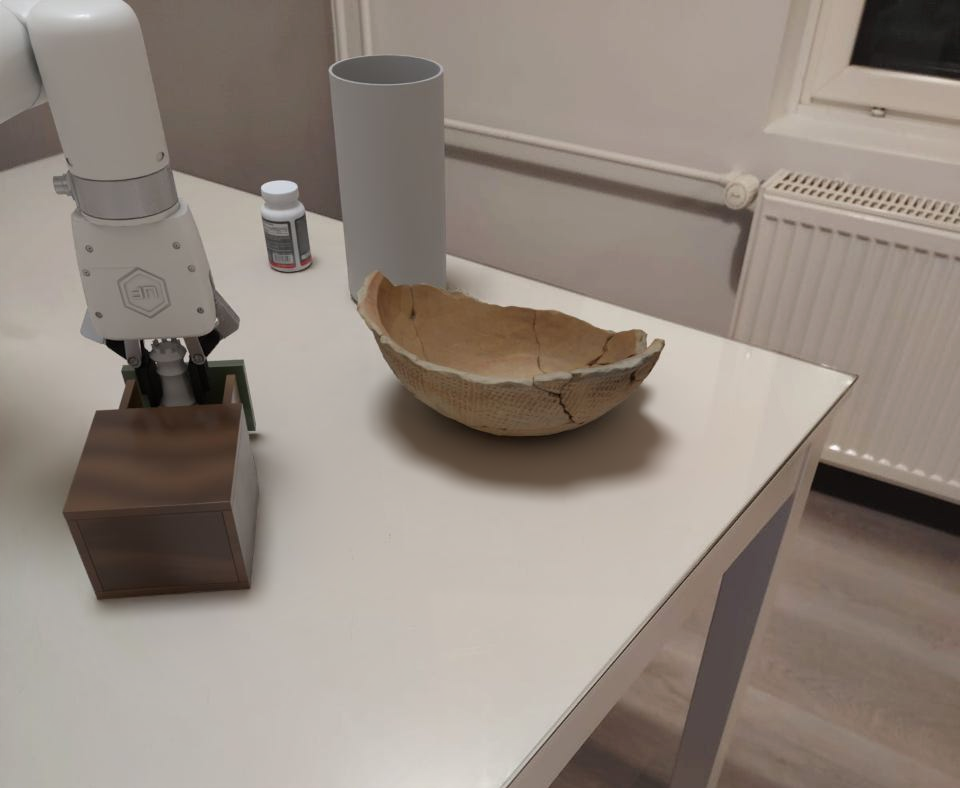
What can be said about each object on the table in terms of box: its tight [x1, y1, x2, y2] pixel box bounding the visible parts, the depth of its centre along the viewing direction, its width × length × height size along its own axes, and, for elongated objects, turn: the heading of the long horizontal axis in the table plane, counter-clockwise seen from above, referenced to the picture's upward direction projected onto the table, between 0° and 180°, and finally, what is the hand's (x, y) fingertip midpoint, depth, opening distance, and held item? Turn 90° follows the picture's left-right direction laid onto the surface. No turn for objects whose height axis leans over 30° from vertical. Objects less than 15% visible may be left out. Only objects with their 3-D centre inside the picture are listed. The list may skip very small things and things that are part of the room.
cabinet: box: [61, 403, 260, 600], centre depth 77 cm, size 15×13×9 cm
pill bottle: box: [260, 179, 312, 273], centre depth 118 cm, size 6×6×10 cm
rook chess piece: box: [149, 338, 198, 407], centre depth 82 cm, size 4×4×8 cm
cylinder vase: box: [328, 54, 448, 303], centre depth 107 cm, size 12×12×25 cm
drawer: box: [118, 358, 257, 432], centre depth 86 cm, size 18×11×7 cm, turn 7°
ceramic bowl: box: [356, 270, 666, 437], centre depth 92 cm, size 30×27×15 cm
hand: (179, 396), depth 83 cm, fingers closed on rook chess piece, 3 cm apart
